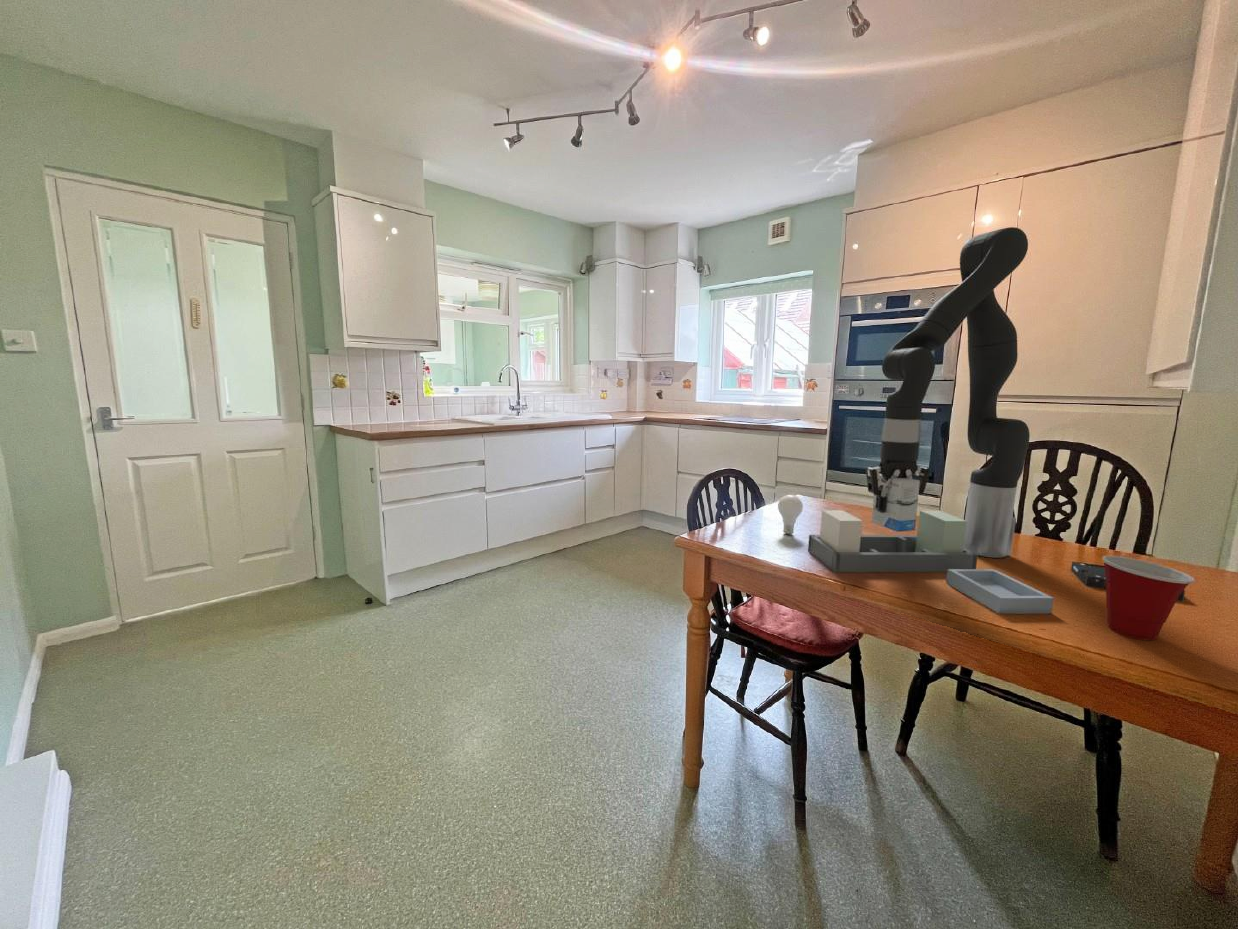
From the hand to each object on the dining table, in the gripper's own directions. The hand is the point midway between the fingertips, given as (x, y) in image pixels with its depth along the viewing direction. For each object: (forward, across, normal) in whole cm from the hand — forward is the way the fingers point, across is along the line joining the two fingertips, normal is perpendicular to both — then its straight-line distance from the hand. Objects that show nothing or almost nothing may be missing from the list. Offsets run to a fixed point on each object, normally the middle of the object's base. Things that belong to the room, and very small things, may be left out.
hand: (893, 511), depth 116 cm
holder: (+12, 0, 0) cm, 12 cm away
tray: (+12, -10, +20) cm, 25 cm away
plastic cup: (+12, -22, +34) cm, 43 cm away
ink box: (+4, 0, 0) cm, 4 cm away
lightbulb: (+12, +16, -20) cm, 28 cm away
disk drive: (+13, -42, +14) cm, 47 cm away
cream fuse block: (+12, +12, 0) cm, 17 cm away
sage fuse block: (+12, -12, 0) cm, 17 cm away
